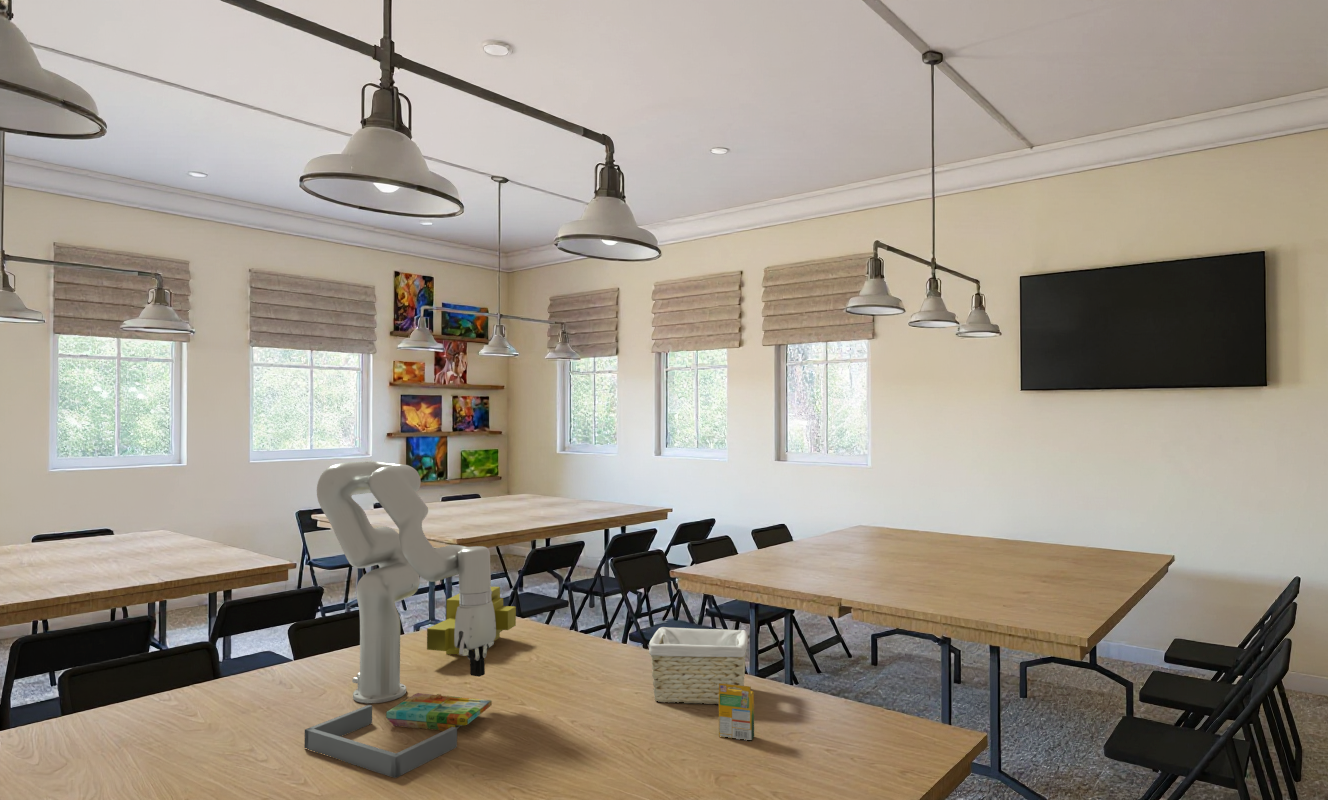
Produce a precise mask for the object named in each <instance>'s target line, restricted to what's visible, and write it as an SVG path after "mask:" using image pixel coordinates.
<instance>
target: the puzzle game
mask: <svg viewBox="0 0 1328 800" xmlns="http://www.w3.org/2000/svg"><path fill="white" fill-rule="evenodd" d="M492 702H493V701H492V700H491V699H482V698H480V699H479V698H471V697H470V698H469V697H461V696H460V697H459V696H450V695H442V694H441V693H440V694H439V693H436V694H430V693H419V692H417V693H415V694H413V695H412V696H410V697H408V698H406V699H405V700H403V701H402V702H400V703H399V704H397V705H395V706H394V707H392V708H391V709H390V708H389V710H387V711H386V714H385V716H386V717H385V718H386V719H387V720H388V721H389V722H390V724H391V725H392V726H393V727H400V726H403V727H402V728H410V727H412V729H420V728H422V730H423V729H424V730H431V729H433V730H432V731H441V732H443V731H445V730H447V729H449V728H451V727H455V728H457V730H458V729H459V728H461V727H465V726H467V725H469V724H470V723H471V722H472V721H473V720H475V719H476V718H477V717H479V716H481V714H482V713H484V712H485V711H486V710H488V709H489V708H490V707H492V706H493V705H492V704H493V703H492ZM460 726H461V727H460Z"/></svg>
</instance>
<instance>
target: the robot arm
mask: <svg viewBox="0 0 1328 800" xmlns="http://www.w3.org/2000/svg"><path fill="white" fill-rule="evenodd" d="M421 481H422V480H421V476H420V474H419V472H418V471H417V469H415V468H414V467H412V466H410V465H408V464H401V463H391V462H382V461H372V460H371V461H370V460H369V461H352V462H351V461H349V462H340V463H336V464H333V465H331V466H328V468H326V469H325V470H323V471H322V473H321V474H320V476H319V477H318V481H317V483H316V485H317V486H316V497H317V501H318V502H317V503H318V504H319V507H320V508H321V511H322V512H323V513H324V515H325V517H326V518H327V519H328V522H329V523H330V525H331V528H332V529H333V532H334V535H335V537H336V539H337V541H338V543H339V545H340V547H341V550H342V551H343V554H344V555H345V558H346V560H347V562H348V563H349V565H350V566H352V567H353V568H355V569H366V568H370V567H373V566H378V567H377V568H375V569H372V570H370V571H368V572H366V573H365V574H363V575H362V576H361V578H360V579H359V580H358V582H357V585H356V601H357V604H358V610H359V672H358V673H357V674H356V676H354V677H353V678H352V679H351V680H352V683H353V684H357V688H356V689H355V690H354V691H353V693H352V699H353V700H354V701H355V702H358V703H362V704H380V703H381V704H382V703H386V702H387V703H388V702H391V701H394V700H398V699H399V698H401V697H403V696H404V695H405V694H407V693H406V692H407V686H406V685H405V684H403V683H401V618H400V613H399V612H398V610H397V607H396V603H398V602H401V601H403V600H405V599H408V598H410V597H412V596H414V594H415V593H417V592H418V590H419V586H420V577H421V578H422V579H423V580H425V581H427V582H431V583H432V582H433V583H434V582H435V583H436V582H438V581H442V580H445V579H447V578H451V577H454V576H458V590H459V591H458V592H459V593H458V594H459V600H460V606H459V607H457V612H456V618H455V634H454V642H455V647H456V648H460V650H459V655H458V656H463V657H465V656H466V657H467V659H468V660H469V675H470V676H472V677H478V678H479V677H482V676H484V675H486V673H485V671H486V670H485V669H486V668H485V665H486V664H485V658H487V652H488V650H489V648H491V647H492V646H493V645H494V643H495V641H493V640H494V639H495V637H496V622H495V613H494V607H493V603H492V601H491V594H492V591H491V587H492V580H491V579H492V578H491V552H490V549H489V548H488V547H487V546H482V545H481V546H479V545H478V546H477V545H475V546H464V545H459V544H449V545H445V546H441V547H438V548H434V546H433V545H432V543H431V542H430V541H429V540H428V539H427V537H426V535H425V533H424V530H423V521H424V519H425V518H427V515H428V513H429V508H428V505H427V504H426V503H425V502H424V500H423V499H422V498H421V497H420V495H419V494H418V491H419V490H420V488H421V484H422V483H421ZM364 494H372V495H373V496H374V498H375V500H377V502H378V503H379V504H380V506H381V507H382V508H383V509H384V511H385V512H386V514H387V515H388V516H389V517H390V519H391V520H392V521H393V522H394V524H395V525H396V526H397V529H398V532H397V531H396V530H395V529H394V528H392V527H388V526H379V527H377V526H376V527H374V526H372V524H371V522H370V520H369V519H368V517H367V514H366V512H365V511H364V509H363V508H362V506H360V504H359V503H358V502H356V500H354V498H353V497H352V496H354V495H355V496H356V495H364ZM472 650H473V651H472Z"/></svg>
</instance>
